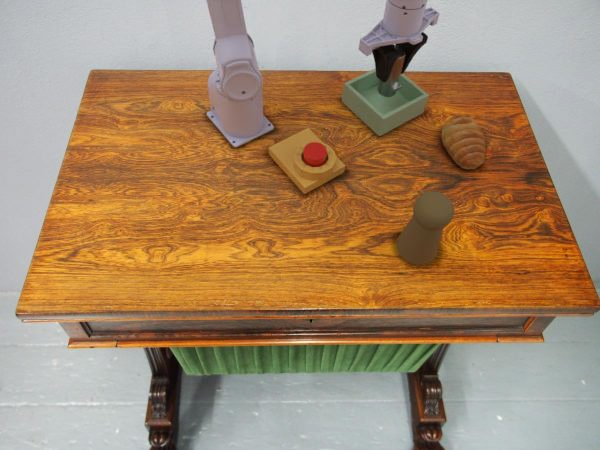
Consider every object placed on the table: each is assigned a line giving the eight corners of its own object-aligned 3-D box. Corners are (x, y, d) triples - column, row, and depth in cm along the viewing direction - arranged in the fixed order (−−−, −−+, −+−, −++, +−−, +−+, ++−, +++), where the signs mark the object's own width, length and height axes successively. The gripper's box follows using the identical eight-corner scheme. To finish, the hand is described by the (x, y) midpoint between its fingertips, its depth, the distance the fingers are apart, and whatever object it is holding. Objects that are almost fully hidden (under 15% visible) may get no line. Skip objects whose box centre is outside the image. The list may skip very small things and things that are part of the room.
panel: (268, 154, 81) (268, 139, 78) (307, 134, 84) (308, 119, 81) (305, 195, 77) (306, 181, 74) (345, 173, 80) (348, 158, 77)
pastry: (491, 170, 81) (499, 154, 78) (451, 173, 80) (458, 158, 77) (473, 129, 86) (480, 112, 83) (435, 131, 85) (441, 115, 82)
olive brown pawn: (436, 268, 70) (460, 226, 61) (394, 260, 71) (411, 217, 62) (438, 233, 74) (461, 188, 65) (398, 226, 74) (415, 180, 65)
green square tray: (341, 101, 89) (343, 83, 85) (385, 79, 92) (389, 61, 89) (379, 136, 84) (383, 119, 81) (423, 112, 88) (429, 94, 84)
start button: (298, 155, 77) (298, 148, 76) (316, 146, 78) (317, 138, 77) (312, 170, 76) (312, 163, 74) (330, 160, 77) (331, 152, 75)
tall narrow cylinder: (371, 87, 86) (379, 47, 79) (385, 80, 87) (394, 40, 80) (388, 101, 84) (397, 62, 77) (402, 94, 85) (412, 55, 78)
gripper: (387, 29, 67) (372, 105, 78) (462, -4, 72) (438, 71, 83) (354, 3, 70) (344, 80, 81) (429, -27, 75) (409, 49, 86)
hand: (389, 74), depth 82 cm, fingers closed on tall narrow cylinder, 3 cm apart
